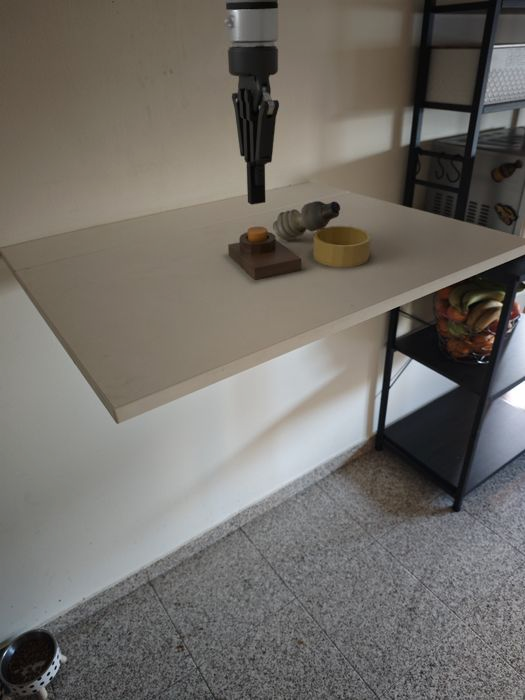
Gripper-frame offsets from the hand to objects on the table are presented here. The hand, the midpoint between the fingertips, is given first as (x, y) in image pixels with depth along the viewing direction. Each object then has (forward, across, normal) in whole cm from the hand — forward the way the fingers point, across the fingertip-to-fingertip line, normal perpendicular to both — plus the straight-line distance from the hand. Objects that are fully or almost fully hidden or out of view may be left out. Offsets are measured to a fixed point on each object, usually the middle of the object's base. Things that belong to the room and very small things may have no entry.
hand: (256, 202), depth 87 cm
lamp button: (+7, 0, 0) cm, 7 cm away
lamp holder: (+10, +6, +14) cm, 19 cm away
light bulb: (+2, +5, +14) cm, 15 cm away
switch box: (+10, +2, 0) cm, 11 cm away
